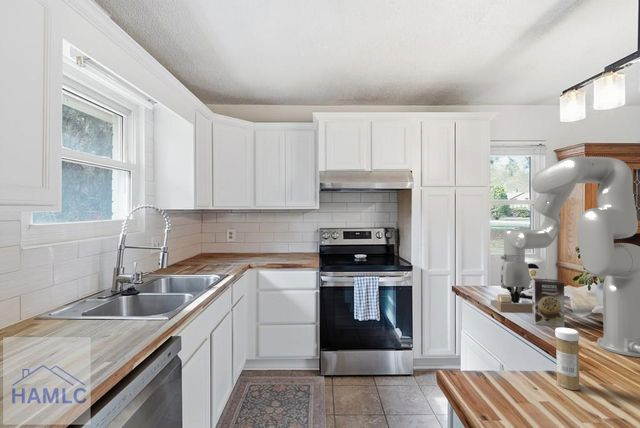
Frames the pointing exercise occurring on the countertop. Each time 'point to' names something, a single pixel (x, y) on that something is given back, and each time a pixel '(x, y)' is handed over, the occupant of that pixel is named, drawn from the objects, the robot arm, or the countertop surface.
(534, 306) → the cookie box
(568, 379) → the sprinkles bottle
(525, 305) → the trap board
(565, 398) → the countertop surface
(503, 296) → the maple cube
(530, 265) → the milk container
